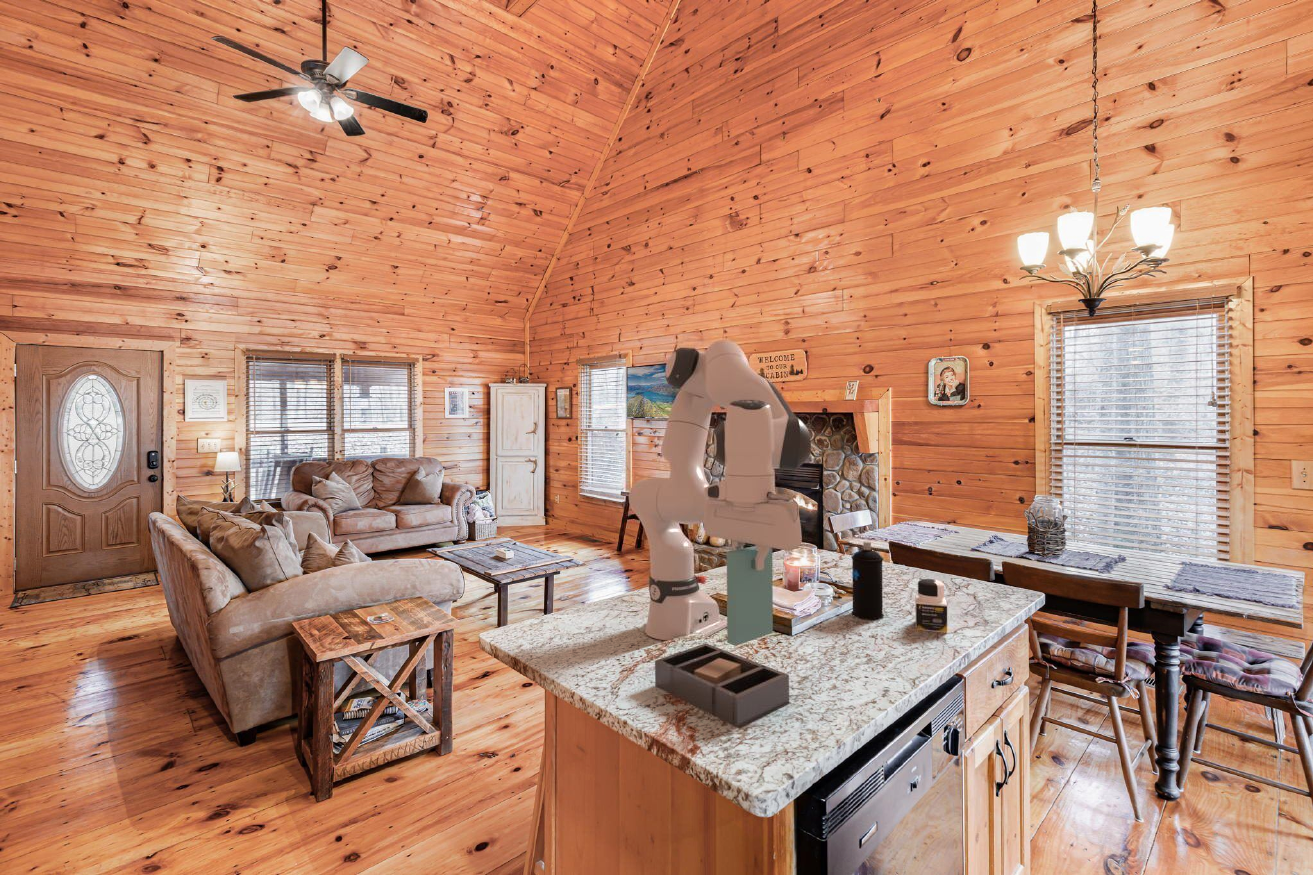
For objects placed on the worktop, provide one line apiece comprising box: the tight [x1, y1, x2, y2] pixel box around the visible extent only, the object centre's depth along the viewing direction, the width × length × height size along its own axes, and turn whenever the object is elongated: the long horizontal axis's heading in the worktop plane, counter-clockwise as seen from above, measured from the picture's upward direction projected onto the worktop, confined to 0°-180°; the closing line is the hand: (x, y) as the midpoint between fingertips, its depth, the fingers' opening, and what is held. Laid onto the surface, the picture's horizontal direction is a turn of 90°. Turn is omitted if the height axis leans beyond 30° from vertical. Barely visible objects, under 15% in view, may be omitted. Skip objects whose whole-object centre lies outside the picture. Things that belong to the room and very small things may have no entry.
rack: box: [654, 643, 792, 730], centre depth 113 cm, size 14×22×6 cm, turn 40°
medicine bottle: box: [914, 578, 948, 634], centre depth 153 cm, size 7×7×12 cm
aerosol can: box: [851, 541, 885, 621], centre depth 163 cm, size 8×8×20 cm
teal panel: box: [726, 545, 774, 647], centre depth 107 cm, size 10×2×16 cm, turn 130°
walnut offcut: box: [694, 658, 741, 685], centre depth 113 cm, size 8×5×2 cm, turn 138°
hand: (750, 567), depth 107 cm, fingers closed on teal panel, 2 cm apart
